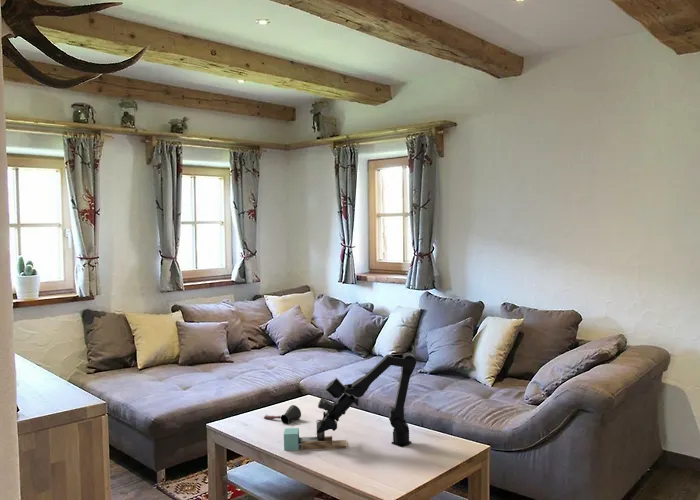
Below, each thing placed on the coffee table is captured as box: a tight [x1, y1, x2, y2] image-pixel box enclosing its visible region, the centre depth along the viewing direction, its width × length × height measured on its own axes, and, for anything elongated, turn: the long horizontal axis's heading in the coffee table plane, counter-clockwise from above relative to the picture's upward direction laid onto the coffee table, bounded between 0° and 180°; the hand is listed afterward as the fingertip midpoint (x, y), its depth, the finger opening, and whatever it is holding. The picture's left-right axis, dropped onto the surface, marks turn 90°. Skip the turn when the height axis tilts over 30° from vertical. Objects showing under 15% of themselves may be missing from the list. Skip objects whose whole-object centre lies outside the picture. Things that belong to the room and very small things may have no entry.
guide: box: [301, 435, 347, 451], centre depth 250 cm, size 19×7×3 cm, turn 91°
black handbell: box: [263, 404, 302, 425], centre depth 285 cm, size 8×18×8 cm
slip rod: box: [298, 419, 326, 445], centre depth 249 cm, size 15×3×10 cm, turn 91°
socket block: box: [283, 427, 300, 451], centre depth 249 cm, size 6×7×7 cm
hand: (317, 431), depth 249 cm, fingers closed on slip rod, 3 cm apart
